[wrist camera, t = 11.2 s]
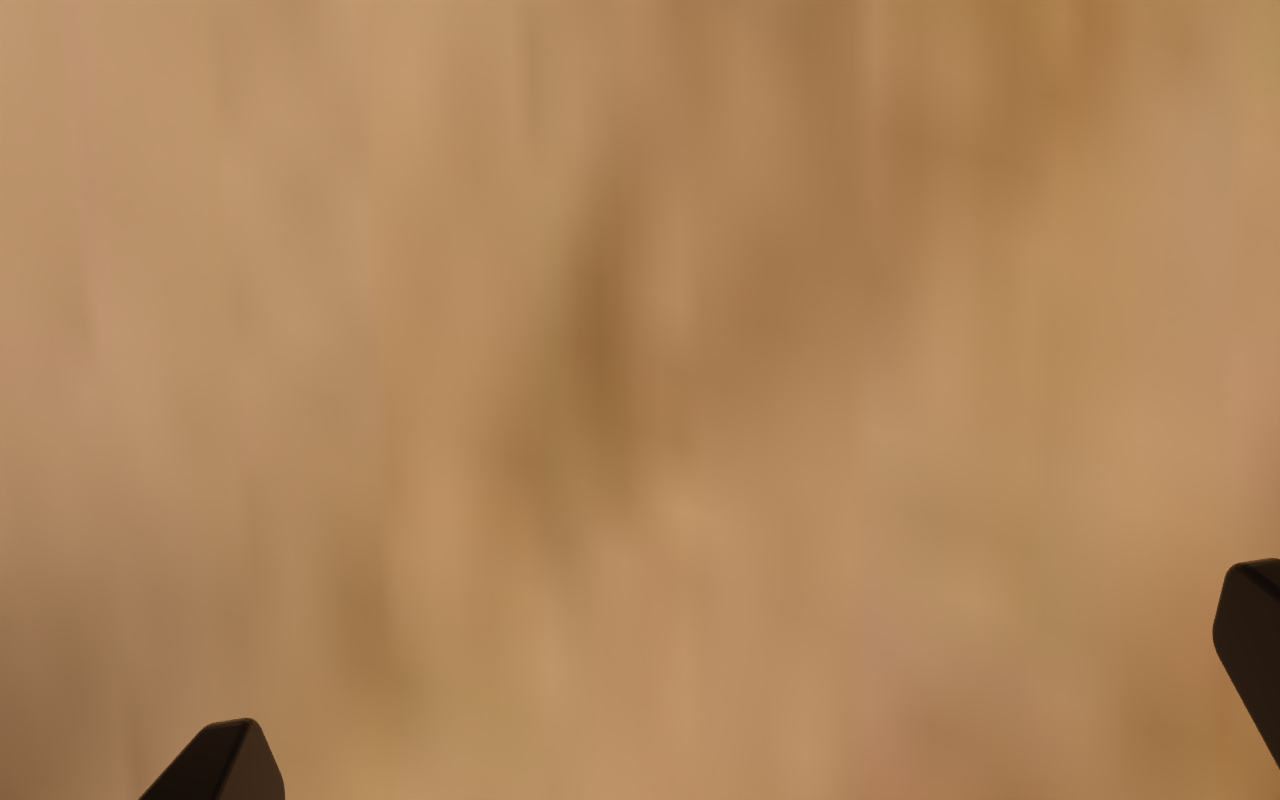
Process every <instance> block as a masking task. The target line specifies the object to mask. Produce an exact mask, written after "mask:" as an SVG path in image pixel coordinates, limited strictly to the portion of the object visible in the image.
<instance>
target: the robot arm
mask: <svg viewBox="0 0 1280 800" xmlns="http://www.w3.org/2000/svg"><path fill="white" fill-rule="evenodd" d="M1213 642H1214V646H1215V649H1216V652H1217V654H1218V656H1219V659H1220V660H1221V662H1222V664H1223V666H1224V668H1225V670H1226V671H1227V673H1228V675H1229V677H1230V679H1231V681H1232V683H1233V684H1234V686H1235V688H1236V690H1237V692H1238V694H1239V695H1240V697H1241V699H1242V701H1243V703H1244V705H1245V707H1246V708H1247V710H1248V712H1249V714H1250V716H1251V718H1252V719H1253V721H1254V723H1255V725H1256V727H1257V729H1258V731H1259V732H1260V734H1261V736H1262V738H1263V740H1264V742H1265V743H1266V745H1267V747H1268V749H1269V751H1270V753H1271V755H1272V756H1273V758H1274V760H1275V762H1276V764H1277V766H1278V768H1279V769H1280V559H1277V558H1268V559H1261V560H1255V561H1248V562H1242V563H1237V564H1235V565H1233V566H1232V567H1231V568H1230V569H1229V570H1228V571H1227V573H1226V575H1225V579H1224V583H1223V587H1222V591H1221V595H1220V599H1219V603H1218V607H1217V611H1216V615H1215V619H1214V623H1213ZM138 800H285V789H284V783H283V778H282V776H281V773H280V771H279V768H278V766H277V764H276V761H275V759H274V757H273V754H272V752H271V750H270V747H269V745H268V743H267V740H266V738H265V736H264V734H263V731H262V729H261V727H260V726H259V724H258V723H257V722H256V721H255V720H254V719H252V718H241V719H235V720H229V721H222V722H216V723H212V724H209V725H207V726H206V727H204V728H203V729H202V730H201V731H200V732H199V733H198V734H197V735H196V736H195V737H194V738H193V739H192V740H191V741H190V743H189V744H188V745H187V746H186V747H185V748H184V749H183V750H182V751H181V753H180V754H179V755H178V756H177V757H176V758H175V759H174V760H173V762H172V763H171V764H170V765H169V766H168V767H167V768H166V769H165V770H164V772H163V773H162V774H161V775H160V776H159V777H158V778H157V779H156V780H155V782H154V783H153V784H152V785H151V786H150V787H149V788H148V789H147V790H146V792H145V793H144V794H143V795H142V796H141V797H140V798H139V799H138Z"/></svg>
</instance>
